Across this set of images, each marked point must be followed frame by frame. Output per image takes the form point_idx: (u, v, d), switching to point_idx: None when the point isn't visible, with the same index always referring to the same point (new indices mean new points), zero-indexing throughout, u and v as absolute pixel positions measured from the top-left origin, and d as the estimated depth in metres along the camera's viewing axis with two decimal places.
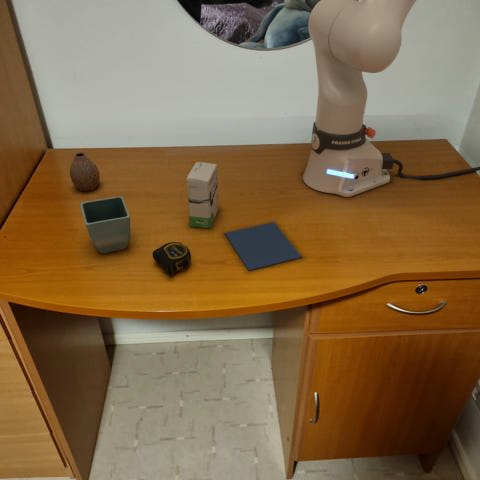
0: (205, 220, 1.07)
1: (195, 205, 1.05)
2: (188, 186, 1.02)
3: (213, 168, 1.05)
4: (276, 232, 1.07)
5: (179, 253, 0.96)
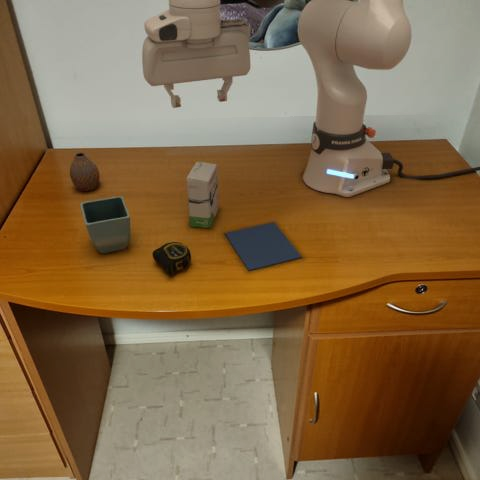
0: (205, 220, 1.07)
1: (195, 205, 1.05)
2: (188, 186, 1.02)
3: (213, 168, 1.05)
4: (276, 232, 1.07)
5: (179, 253, 0.96)
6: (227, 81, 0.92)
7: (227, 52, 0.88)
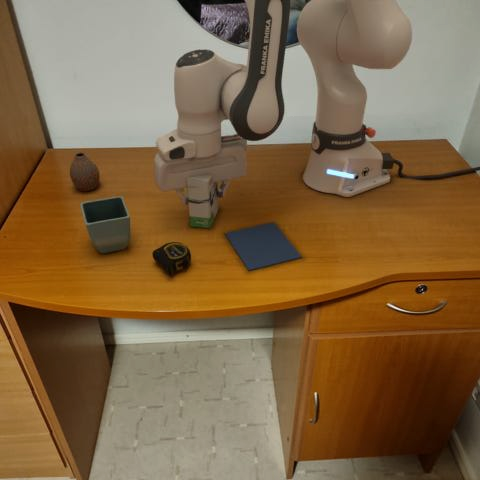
0: (206, 220, 1.07)
1: (195, 205, 1.05)
2: (188, 186, 1.02)
3: None
4: (276, 232, 1.07)
5: (179, 253, 0.96)
6: (225, 182, 1.06)
7: (227, 161, 1.02)
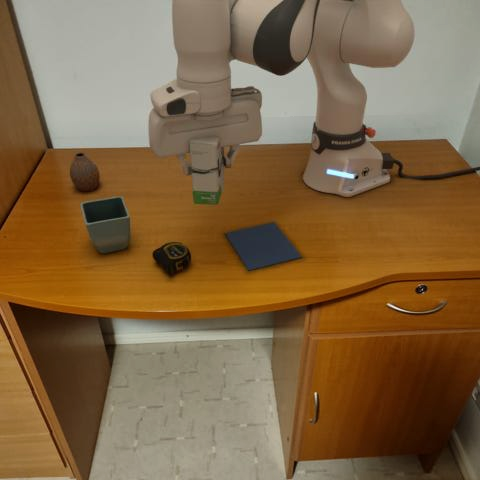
0: (213, 195, 0.88)
1: (200, 176, 0.86)
2: (191, 152, 0.83)
3: None
4: (276, 232, 1.07)
5: (179, 253, 0.96)
6: (234, 148, 0.87)
7: (238, 120, 0.84)
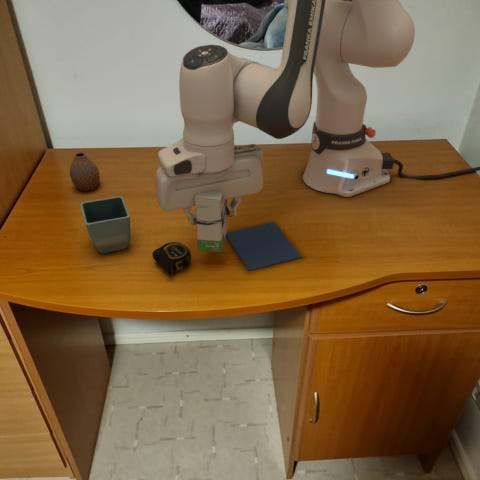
0: (217, 243, 0.93)
1: (204, 227, 0.91)
2: (196, 206, 0.88)
3: None
4: (276, 232, 1.07)
5: (179, 253, 0.96)
6: (236, 200, 0.92)
7: (240, 175, 0.88)
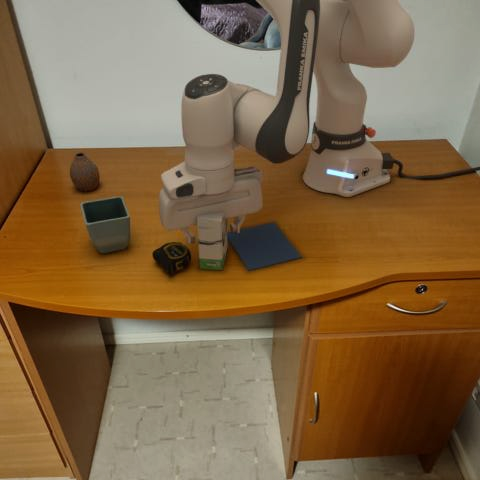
0: (217, 262, 0.96)
1: (206, 247, 0.94)
2: (198, 227, 0.91)
3: None
4: (276, 232, 1.07)
5: (179, 253, 0.96)
6: (240, 218, 0.96)
7: (240, 196, 0.92)
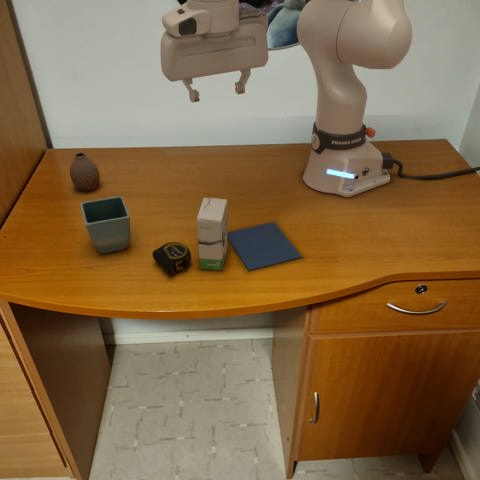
0: (217, 262, 0.96)
1: (206, 247, 0.94)
2: (198, 227, 0.91)
3: (224, 205, 0.94)
4: (276, 232, 1.07)
5: (179, 253, 0.96)
6: (245, 73, 0.92)
7: (245, 44, 0.88)
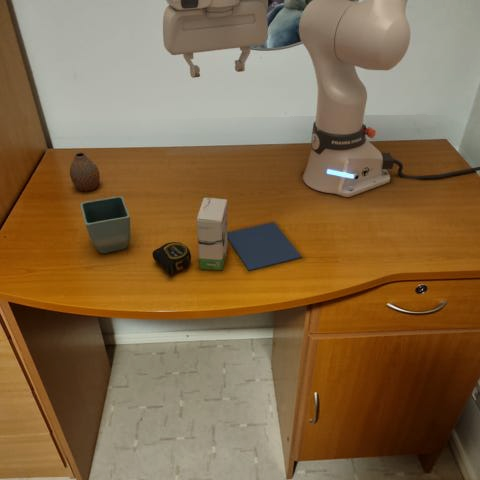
0: (217, 262, 0.96)
1: (206, 247, 0.94)
2: (198, 227, 0.91)
3: (224, 205, 0.94)
4: (276, 232, 1.07)
5: (179, 253, 0.96)
6: (245, 51, 0.94)
7: (245, 21, 0.90)
